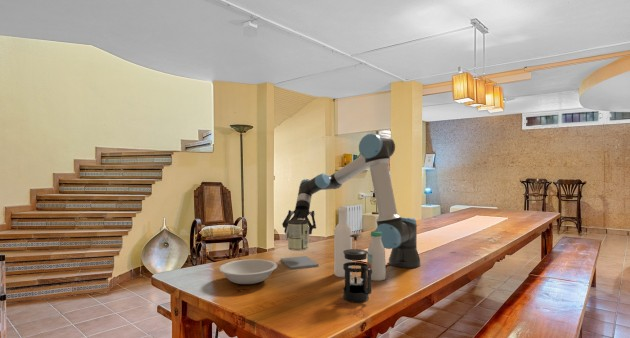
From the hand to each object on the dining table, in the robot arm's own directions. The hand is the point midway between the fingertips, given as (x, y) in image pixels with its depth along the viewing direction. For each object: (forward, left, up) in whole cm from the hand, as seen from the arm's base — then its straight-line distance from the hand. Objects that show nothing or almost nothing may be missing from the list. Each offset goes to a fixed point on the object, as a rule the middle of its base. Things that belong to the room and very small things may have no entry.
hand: (296, 238), depth 175 cm
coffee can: (+3, -2, -6) cm, 6 cm away
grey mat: (+2, -2, -13) cm, 13 cm away
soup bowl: (-18, +27, -13) cm, 35 cm away
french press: (-52, -6, -13) cm, 54 cm away
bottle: (-24, -14, -13) cm, 30 cm away
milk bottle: (-34, -25, -13) cm, 44 cm away
